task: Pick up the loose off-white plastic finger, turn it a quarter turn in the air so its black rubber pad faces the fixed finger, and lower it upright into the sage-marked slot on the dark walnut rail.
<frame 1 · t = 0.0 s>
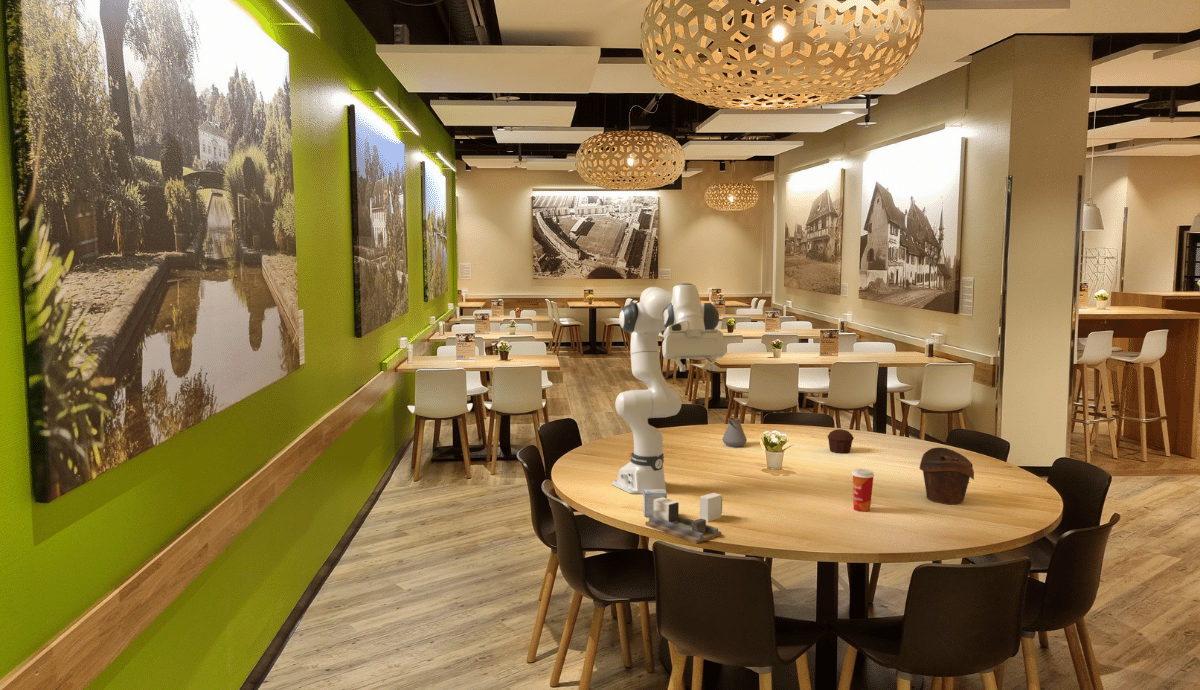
hand: (697, 370, 254), 54 cm above the table, tool tilted 30°, fingers open, 8 cm apart
muffin: (840, 451, 374), on the table
coffee pot: (732, 448, 381), on the table
medicine box: (654, 515, 283), on the table
paper cup: (861, 510, 289), on the table
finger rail: (682, 529, 268), on the table
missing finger: (710, 518, 280), on the table
case: (945, 500, 301), on the table
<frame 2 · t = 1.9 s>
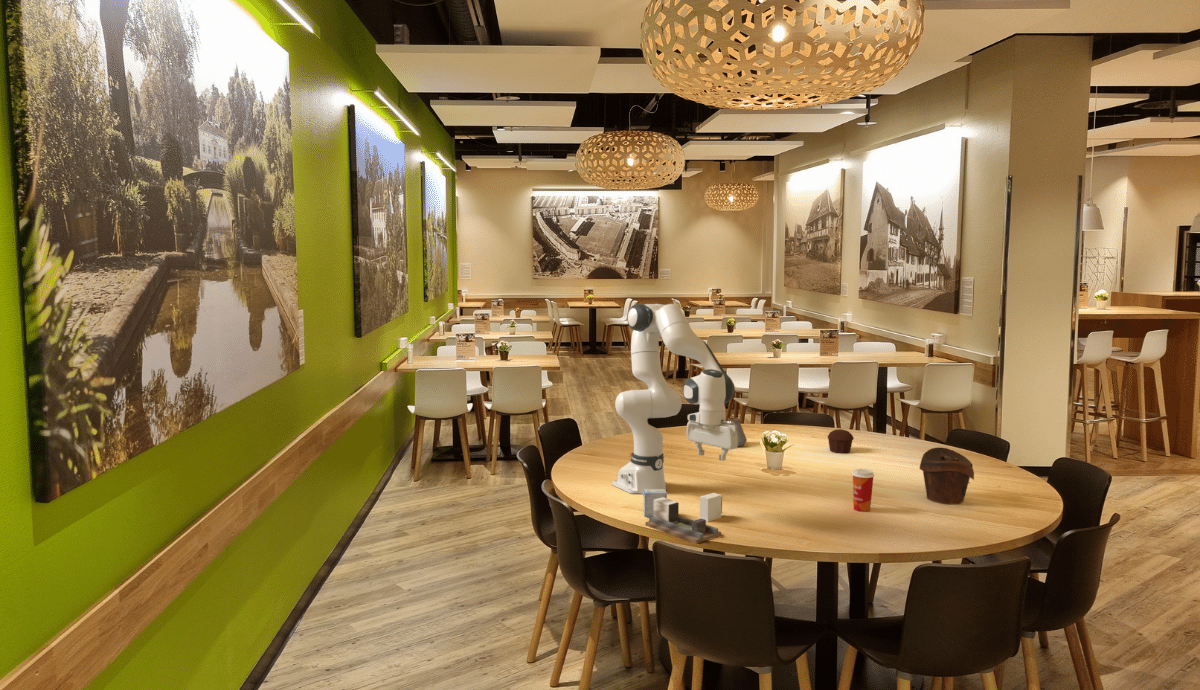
hand: (711, 457, 277), 21 cm above the table, tool pointing down, fingers open, 8 cm apart
nothing on the table moved.
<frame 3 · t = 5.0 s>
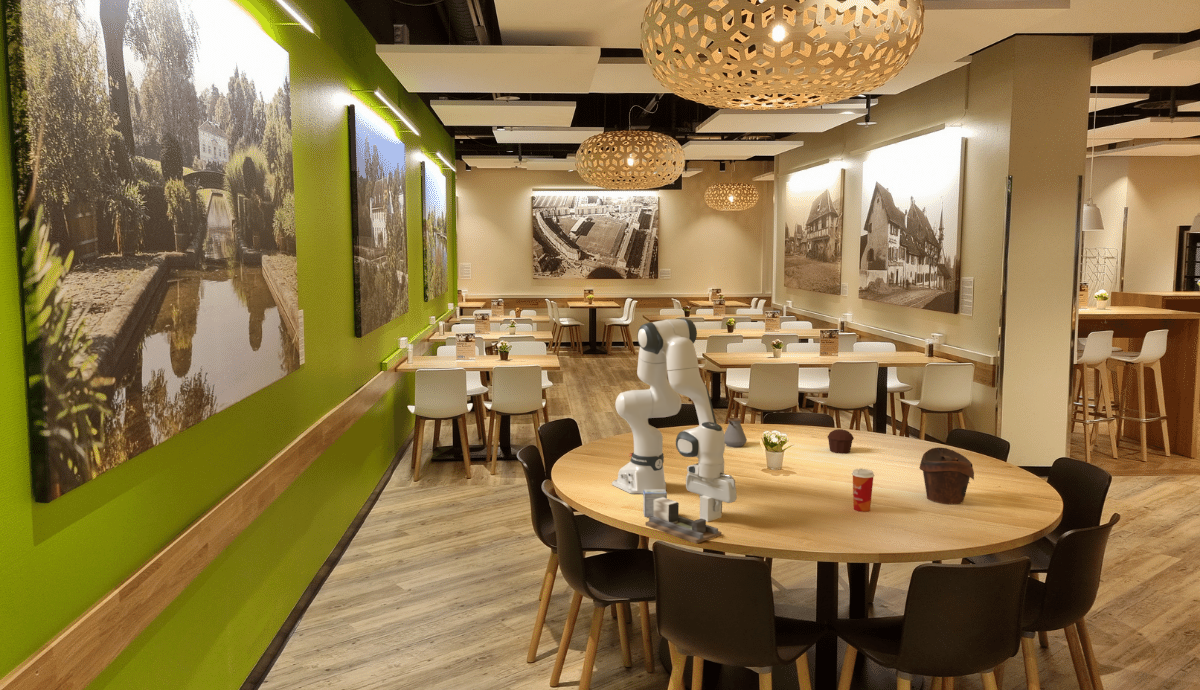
hand: (710, 509, 279), 3 cm above the table, tool pointing down, fingers closed on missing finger, 4 cm apart
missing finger: (710, 518, 280), on the table, touching gripper
everything else where it was.
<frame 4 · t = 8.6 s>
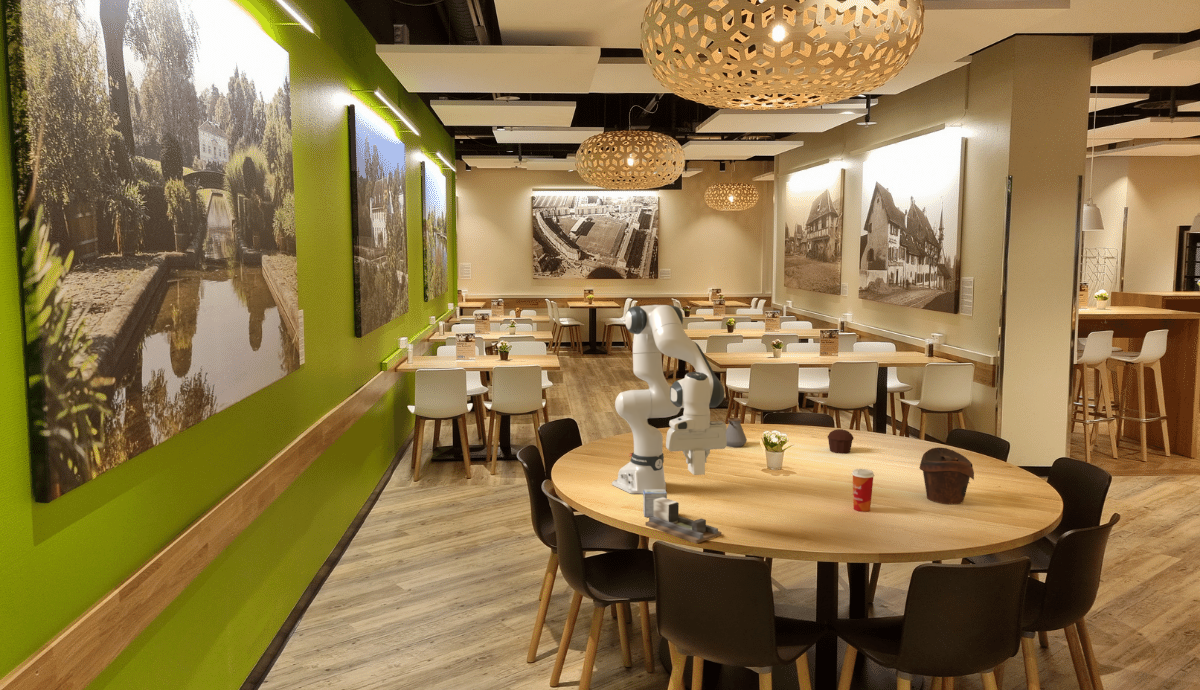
hand: (696, 462, 269), 22 cm above the table, tool pointing down, fingers closed on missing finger, 4 cm apart
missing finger: (696, 472, 270), point 18 cm above the table, touching gripper
everything else where it was.
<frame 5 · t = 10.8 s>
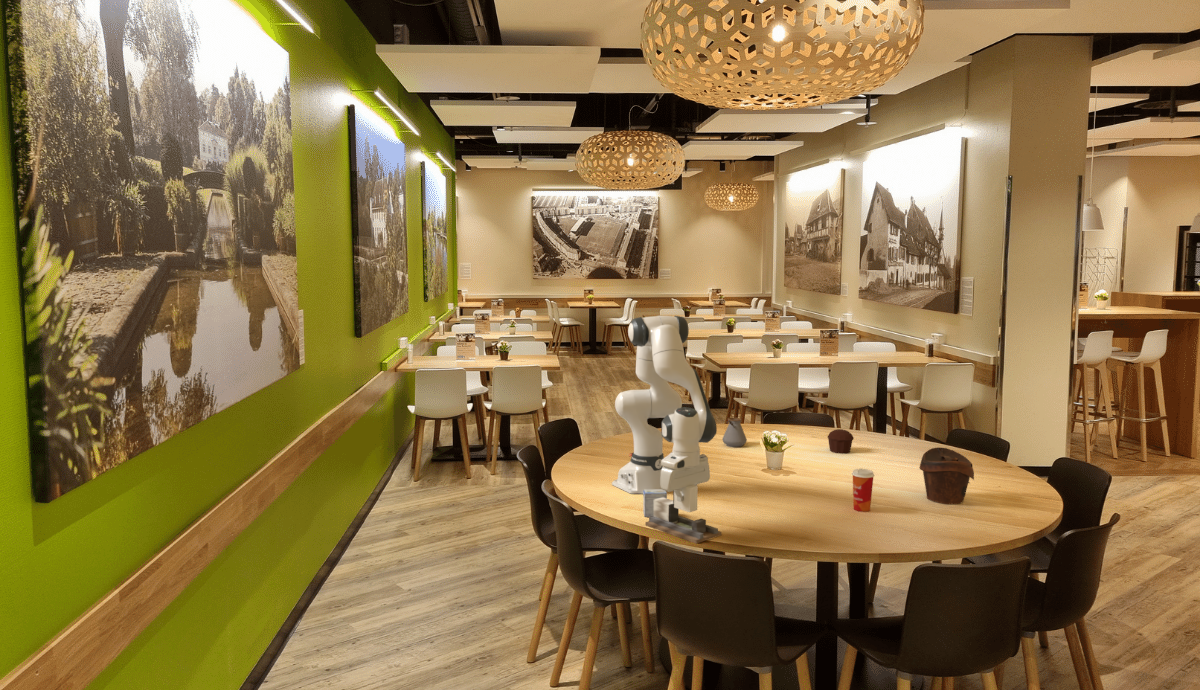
hand: (685, 499, 266), 11 cm above the table, tool pointing down, fingers closed on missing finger, 4 cm apart
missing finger: (685, 508, 266), point 8 cm above the table, touching gripper
everything else where it was.
when the fingers open (6 cm above the table, at t = 12.5 s): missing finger drops 1 cm, resting on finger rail.
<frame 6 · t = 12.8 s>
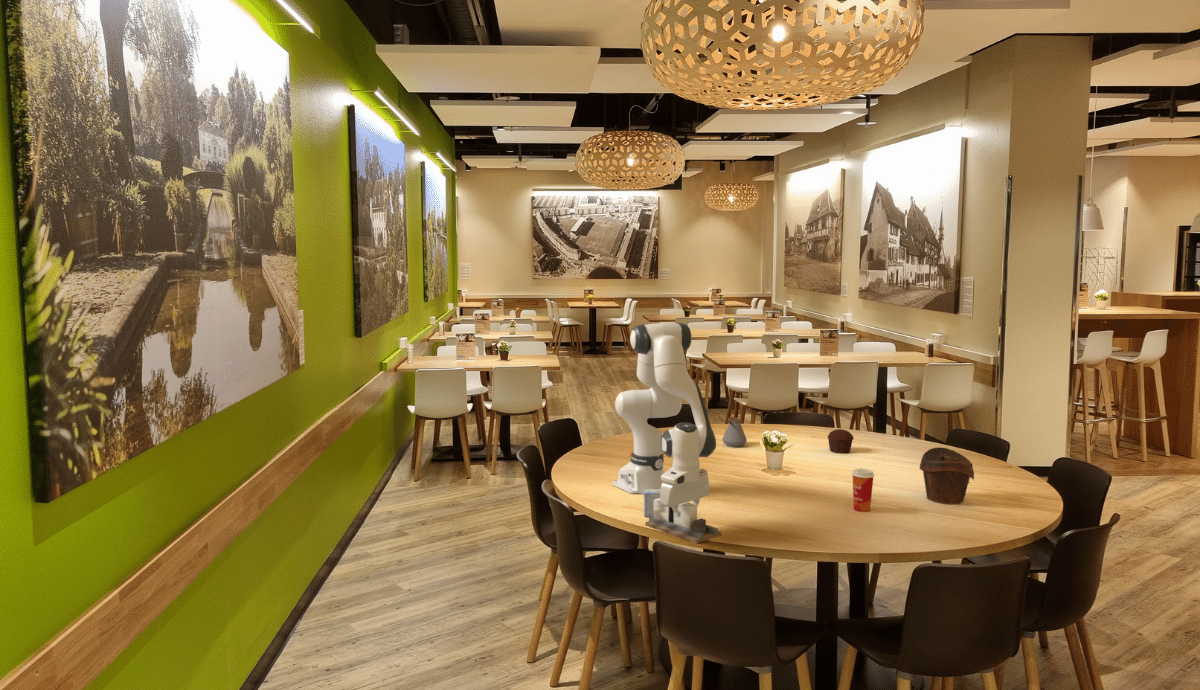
hand: (685, 514, 266), 6 cm above the table, tool pointing down, fingers open, 6 cm apart
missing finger: (685, 527, 267), point 1 cm above the table, touching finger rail
everything else where it was.
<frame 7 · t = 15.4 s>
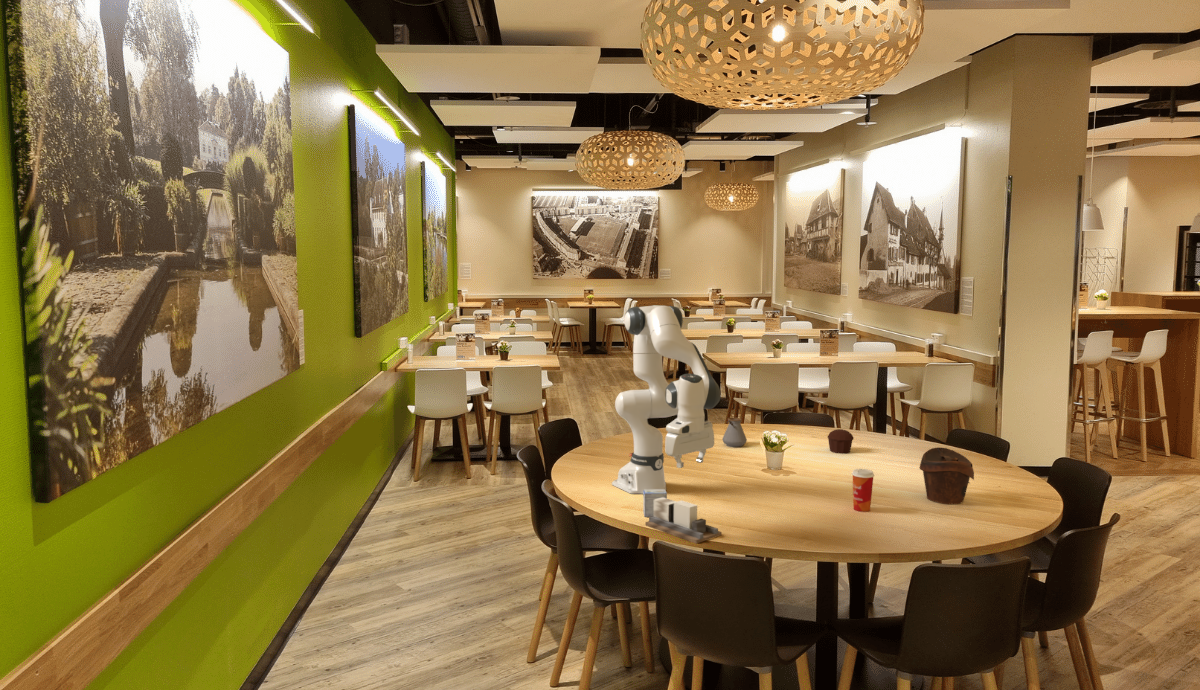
hand: (690, 465, 268), 21 cm above the table, tool pointing down, fingers open, 8 cm apart
nothing on the table moved.
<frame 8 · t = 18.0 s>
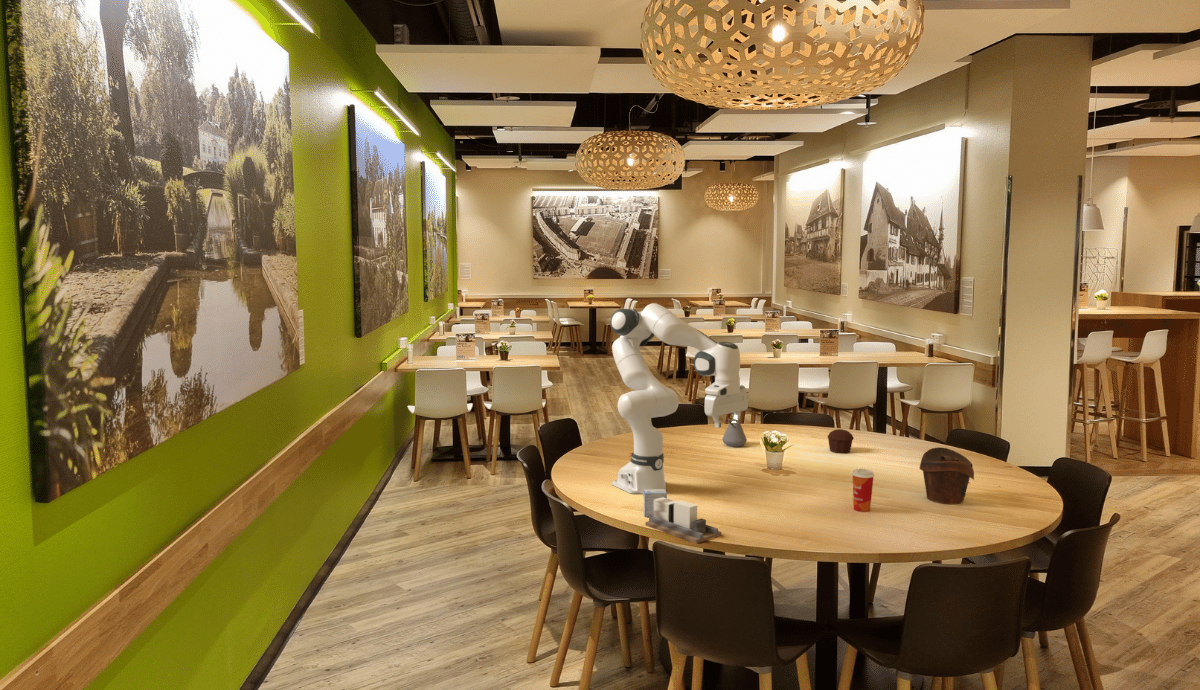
hand: (726, 425, 292), 29 cm above the table, tool pointing down, fingers open, 8 cm apart
nothing on the table moved.
at the end: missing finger 0.0 cm from the target spot on the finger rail, point 1.1 cm above the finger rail's base; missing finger tilted 0°; the gripper is holding nothing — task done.
